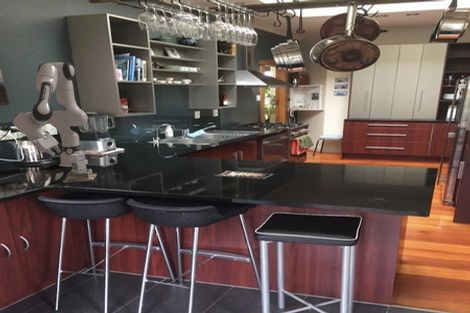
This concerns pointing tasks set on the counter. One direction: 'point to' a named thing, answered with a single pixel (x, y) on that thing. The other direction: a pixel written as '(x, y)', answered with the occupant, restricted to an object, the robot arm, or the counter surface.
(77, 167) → the syrup box
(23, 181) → the counter surface
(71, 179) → the cradle jig
